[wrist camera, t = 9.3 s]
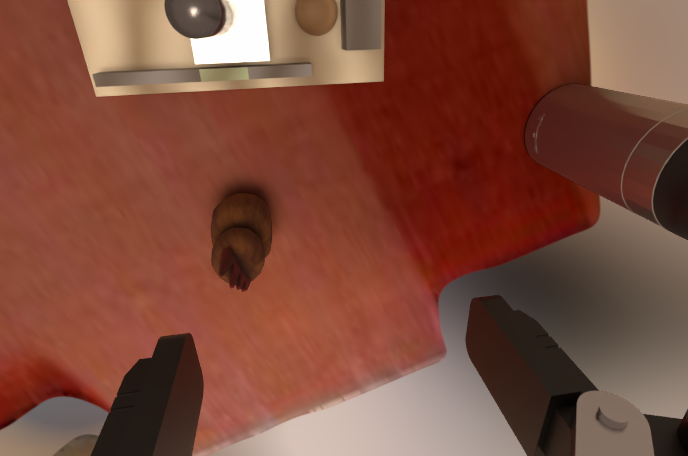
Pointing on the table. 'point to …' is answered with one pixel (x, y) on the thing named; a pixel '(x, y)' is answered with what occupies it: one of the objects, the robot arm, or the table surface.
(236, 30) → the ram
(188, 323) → the table surface
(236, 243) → the wooden figurine
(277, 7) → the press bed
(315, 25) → the walnut
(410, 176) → the table surface
